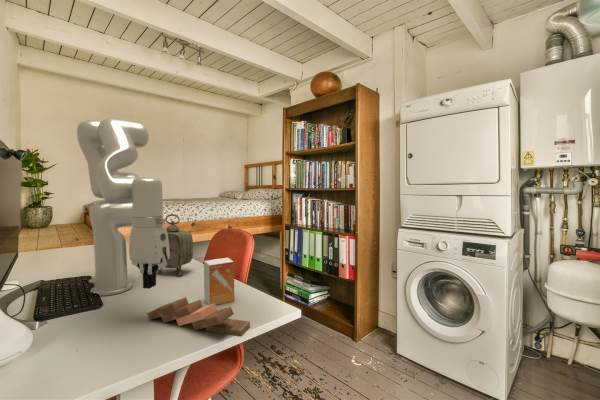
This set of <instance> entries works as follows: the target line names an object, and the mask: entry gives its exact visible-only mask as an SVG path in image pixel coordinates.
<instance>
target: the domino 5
mask: <svg viewBox="0 0 600 400" xmlns="http://www.w3.org/2000/svg"><path fill="white" fill-rule="evenodd" d="M250 327H251V322H250V321H248V320H241V319H234V318H228V319H226V320H225V321H224V322H222V323H221V324H219V325H214V326H210V327H206V328H205V331H207V332H212V333H217V334H223V335H224V334H225V335H231V336H237V337H242V335H245V333H246V331H248V329H249V328H250Z"/></svg>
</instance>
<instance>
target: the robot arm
mask: <svg viewBox="0 0 600 400" xmlns="http://www.w3.org/2000/svg"><path fill="white" fill-rule="evenodd" d="M76 136H77V137H76V138H77V142H78V146H79V147H80V150H81V152H82V154H83V155H84V157H85V160H86V163H87V169H88V175H89V183H90V188H91V193H92V195H93V196H94V197H95V198H99V199H103V201H99V202H96V203H94V204H92V206H91V207H90V208H89V212H88V214H89V219H90V223H91V227H92V234H93V249H94V271H95V275H94V276H93V277H91V279H89V280H88V283H89V284H93V287H92V288H91V289H90V293H91V292H93V293H97V294H99V296H98V297H102V296H104V297H105V296H106V297H107V296H111V295H112V296H113V295H118V294H121V293H124V292H126V291H129V290H130V289H132V288H133V286H134V285H133V281H130V280H128V256H127V253H128V255H129V260H130V262H131V265H132V266H134V267H136V268H138V269H139V271H140V274H141V275H142V288H143V289H148V290H149V289H151V288H154V287H156V285H157V272H158V270H160V269H161V268H163V269H164V267H166V266H167V263H166V261H167V260H169V259H170V249H169V240H168V234H167V230H166V229H167V227H166V226H164V224H166V223H167V222H166V220H165V219H166V218H164V212H163V211H164V210H163V209H164V206H163V202H164V201H163V183H162V181H161V179H159V178H155V177H141V176H139V175H138V174H136V173H135V172H134V173H133V172H122V171H121V172H120V171H119V170H121V169H125V168H127V167H129V166H131V165H133V164H134V163H136V161H137V160H138V158H139V152H138V149H137V148H139V149H141V148H143V147H145V146H147V144H148V142H149V139H150V137H149V131H148V129H147V128H146V126H145V125H144V124H142V123H140V122H139V121H133V120H132V121H130V120H125V119H117V118H106V119H103V120H95V119H93V120H92V119H91V120H83V121H80V123H78V125H77V127H76ZM126 227H131V229H130V234H129V240H128V241H129V243H128V245H129V246H128V252H127V239H126V237H125V235H124V234H123V233H122V232H121V231H119V228H126Z"/></svg>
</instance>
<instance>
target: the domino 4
mask: <svg viewBox="0 0 600 400" xmlns="http://www.w3.org/2000/svg"><path fill="white" fill-rule="evenodd" d="M233 315H235V314H234V311H233V308H232V306H229V307H228V306H227V307H225V308H221V309H217V311H216V312H214V313H213V314H211V315H209V316H208V317H206V318H204V319H202V320H199V321H195V322H192V323H191V324H192V328H193V330H194V331H196V330H201V329H206V327H210V326H214V325H219V324H221V323H222V322H224V321H225V320H226V319H230V317H232V316H233Z"/></svg>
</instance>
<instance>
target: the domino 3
mask: <svg viewBox="0 0 600 400" xmlns="http://www.w3.org/2000/svg"><path fill="white" fill-rule="evenodd" d="M217 310H218V308H217V305H215V303H214V304H211V305H208V304H207V305H205V306H204V305H203V307H201V308H200V309H198V310H196V311H195V312H193V313H191V314H189V315H187V316H184V317H181V318H178V319H175V320H176V323H177V325H178V327H180V326H184V325H188V324H192V322H195V321H199V320H202V319H204V318H206V317H208V316H209V315H211V314H213V313H214V312H216V311H217Z"/></svg>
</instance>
